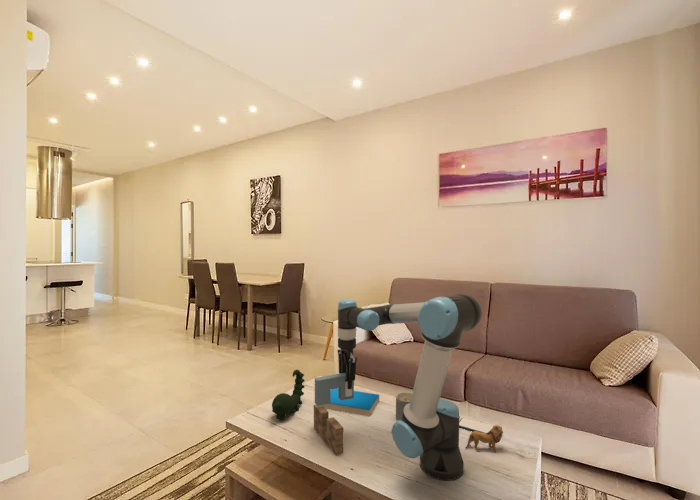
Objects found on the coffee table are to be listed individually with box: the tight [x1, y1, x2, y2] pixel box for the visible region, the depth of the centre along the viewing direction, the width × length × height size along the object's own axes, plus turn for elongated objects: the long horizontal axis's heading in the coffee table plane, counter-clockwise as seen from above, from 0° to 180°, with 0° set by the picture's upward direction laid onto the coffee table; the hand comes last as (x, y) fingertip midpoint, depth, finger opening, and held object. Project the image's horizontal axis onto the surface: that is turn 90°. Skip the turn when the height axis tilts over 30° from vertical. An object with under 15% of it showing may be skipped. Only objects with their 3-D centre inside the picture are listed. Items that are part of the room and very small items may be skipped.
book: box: [322, 388, 380, 417], centre depth 174 cm, size 17×4×25 cm
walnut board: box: [313, 403, 344, 456], centre depth 143 cm, size 22×3×10 cm, turn 28°
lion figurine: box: [464, 424, 504, 453], centre depth 137 cm, size 15×5×9 cm, turn 95°
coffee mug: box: [395, 391, 413, 421], centre depth 161 cm, size 13×10×10 cm
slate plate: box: [314, 372, 355, 406], centre depth 144 cm, size 16×3×10 cm, turn 117°
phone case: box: [459, 417, 495, 433], centre depth 152 cm, size 9×2×16 cm
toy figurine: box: [271, 369, 306, 422], centre depth 164 cm, size 9×19×25 cm
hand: (346, 393), depth 147 cm, fingers closed on slate plate, 3 cm apart
